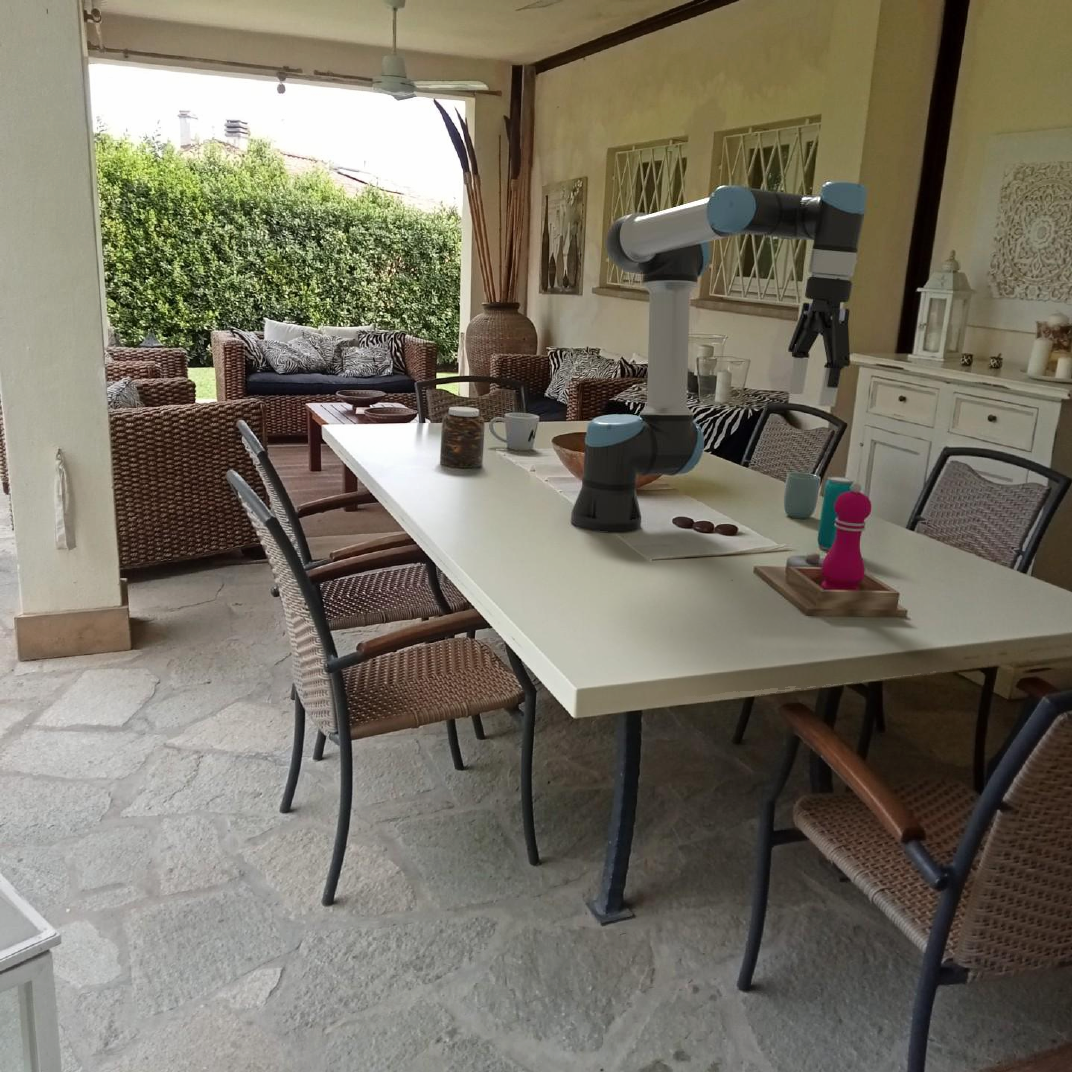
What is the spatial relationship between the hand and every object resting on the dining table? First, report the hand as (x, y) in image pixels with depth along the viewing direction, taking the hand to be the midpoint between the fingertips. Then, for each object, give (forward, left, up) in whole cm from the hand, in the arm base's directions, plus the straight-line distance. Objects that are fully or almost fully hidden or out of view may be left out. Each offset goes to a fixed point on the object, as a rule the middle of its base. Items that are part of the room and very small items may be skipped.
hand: (810, 399), depth 178 cm
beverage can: (+19, +21, -33) cm, 43 cm away
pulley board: (+4, -9, -33) cm, 35 cm away
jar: (-52, +97, -33) cm, 115 cm away
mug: (-34, +126, -33) cm, 134 cm away
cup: (+24, +49, -33) cm, 63 cm away
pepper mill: (+4, -14, -32) cm, 35 cm away
